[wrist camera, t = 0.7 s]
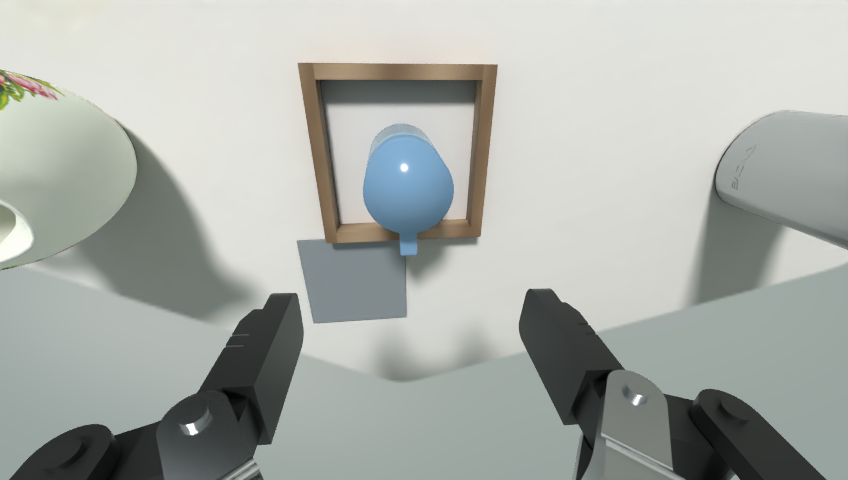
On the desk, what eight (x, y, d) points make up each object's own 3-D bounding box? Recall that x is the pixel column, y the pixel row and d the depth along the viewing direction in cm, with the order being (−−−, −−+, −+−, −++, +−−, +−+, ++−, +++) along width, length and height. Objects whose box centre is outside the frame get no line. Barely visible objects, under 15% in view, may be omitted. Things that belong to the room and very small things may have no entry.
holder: (490, 64, 25) (497, 64, 23) (475, 228, 31) (480, 236, 30) (303, 63, 23) (297, 62, 22) (329, 234, 30) (326, 243, 28)
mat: (404, 235, 31) (404, 236, 31) (406, 315, 35) (406, 316, 35) (297, 240, 30) (296, 241, 30) (314, 322, 34) (313, 323, 34)
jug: (367, 124, 26) (359, 147, 18) (434, 123, 26) (455, 146, 18) (373, 215, 29) (369, 268, 21) (432, 213, 30) (449, 264, 22)
